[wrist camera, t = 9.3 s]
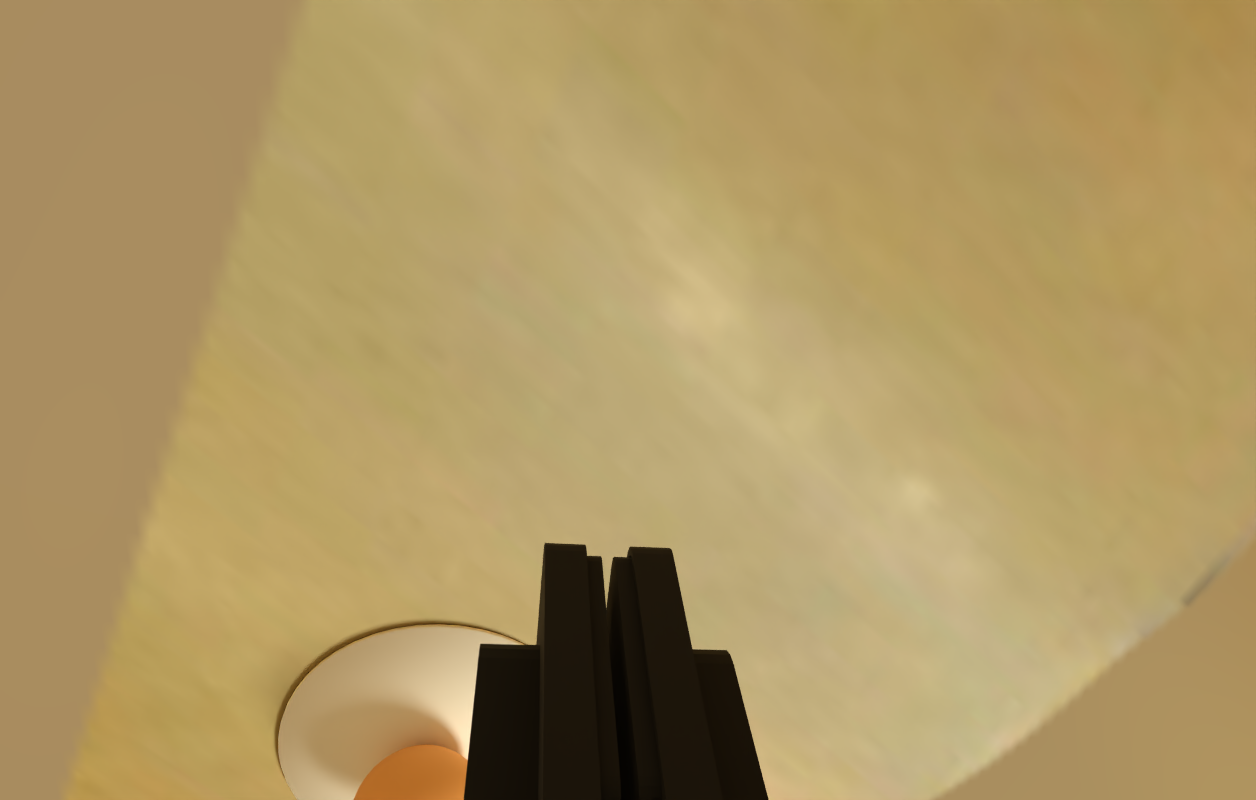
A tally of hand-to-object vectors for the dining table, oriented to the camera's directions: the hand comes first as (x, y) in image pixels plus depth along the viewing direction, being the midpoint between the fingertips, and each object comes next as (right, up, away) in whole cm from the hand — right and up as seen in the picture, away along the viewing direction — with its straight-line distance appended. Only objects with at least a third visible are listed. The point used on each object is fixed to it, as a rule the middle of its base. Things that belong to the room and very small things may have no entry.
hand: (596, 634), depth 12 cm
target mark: (-8, -12, +26) cm, 29 cm away
